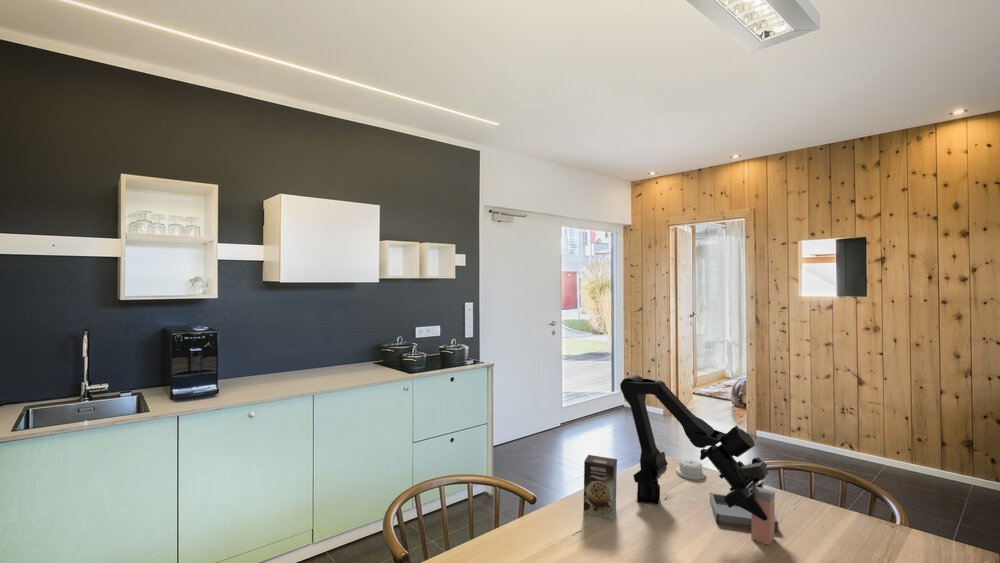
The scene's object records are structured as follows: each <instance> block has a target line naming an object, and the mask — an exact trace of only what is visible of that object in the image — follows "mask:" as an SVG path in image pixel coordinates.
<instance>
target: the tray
mask: <svg viewBox="0 0 1000 563" xmlns="http://www.w3.org/2000/svg"><path fill="white" fill-rule="evenodd" d="M726 495H727V494H723V493H722V494H721V493H715V492H714V493H712V492H709V504H710V508H711V511H712V513H713V518H714V520H715V523H716V524H717V525H722V526H723V525H724V526H733V527H739V528H747V529H751V528H752V513H750V512H748V511H747V510H745V509H743V508H741V507H739V506H736V505H734V506H732V507H731V508H729V507H728V506H727V504H726V503H725V502H724V497H725V496H726ZM774 533H779V521H778V519H777V517H776V515H775V514H774Z"/></svg>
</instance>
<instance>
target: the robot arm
mask: <svg viewBox="0 0 1000 563" xmlns="http://www.w3.org/2000/svg"><path fill="white" fill-rule="evenodd" d="M619 385H620V387H619V388H620V390H621V393H622V395H623V398H624V399H625V401H626V402H627V404H628V405H629V406H630V409H631V414H632V418H633V421H634V426H635V429H636V434H637V439H638V443H639V447H640V458H639V465H640V470H638V471H637V472H636V473H634V474H633V479H634V483H637V492H636V502H637V503H644V504H652V505H659V501H660V500H661V486H660V484H659V479H660V478H661V476H662V475H664V474H665V473H666V471H667V470H668V469H667V468H668V467H667V466H668V465H669V463H668V461H667V459H666V453H665V452H664V451H660V450H659V449H658V447H657V445H656V441H655V437H654V434H653V433H654V432H653V430H652V425H651V422H650V417H649V414H648V410H647V405H646V398H647V395H652V396H653V395H654V396H655V398H656V399H657V400H658V401H659V402H660V403H661V404H662V406H664V408H665V409H666V410H668V412H669V413H670V414H671V415H672V416H673V417H674V418H675V419H676V420H677V421H678V423H679V424H680V425H681V426H682V429H683V431H684V434H685V435H686V437H687V439H688V440H689V441H690V443H691V444H692V445H693V446H694V447H695V448H697V449H698V448H699V449H700V450H699V451H700V455H699V456H700V457H699V460H700V461H703V460H705V459H706V458H707V459H708V460H709V461H710V462H711V464H712V465H713V466H714V467H715V469H716V470H717V471H718V472H719V475H718V477H719V478H720V480H722V479H724V480H725V481H726V482H727V484H728V485H729V486H730V488H729V492H728V493H727V494H725V495H726V496H725V497H724V502H725V503H726V504H727V506H728V507H729V508H731V507H732V506H734V505H736V506H739V507H741V508H743V509H745V510H747V511H748V512H750V513H752V514H754V515H755V516H757V517H759V518H760V519H762V520H764V521H765V520H767V519H768V518H767V517H766V515H765V513H764V512H763V510H762V509H761V507H760V506H759V504H758V503H757V501H756V500H755V491H754V492H753V493H752V491H753V490H754V489H755V488H756V487H760V488H764V485H765V482H764V481H763V480H765V478H766V477H767V475H769V471H768V469H767V466H768V465H767V463H765V461H763V460H762V459H761V458H760V457H754V458H753V459H752V460H751V462H749V463H748V464H744V463H743V462H742V461H741V460H739V461H738V460H736V459H735V457H736V458H739V457H740V456H742V455H743V454H745V453H747V452H748V451H749V450H751V449H752V448H754V447H755V446H756V445H755V441H754V439H753V437H752V436H751V435H750V434H749V432H746V431H745V430H744V429H741V428H740V427H739V426H738V425H735V426H733V427H732V428H731V429H730V430H729V431H728V432H722V431H720V430H717V429H714V427H712V426H711V425H710V424H709V423H707V422H706V421H705V420H704V419H702V418H699V417H698V416H696V415H695V414H694V413H692V412H691V411H690V409H689V408H688V407H686V406H685V404H684V403H683V402H682V401H681V400H680V399H679V398H678V397H677V396H676V395H675V394H674V393H673V392H672V390H671V389H670V388H669V387H668V386H667V384H666V383H665V382H664V381H663V380H656V379H652V378H643V377H642V376H641V375H635V374H634V375H632V376H628V377H627V378H623V379H622V380H621V383H620V384H619ZM718 443H720V445H717V444H718ZM706 447H708V448H706ZM760 481H762V482H760ZM759 482H760V483H759Z"/></svg>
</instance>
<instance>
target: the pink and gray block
mask: <svg viewBox="0 0 1000 563" xmlns="http://www.w3.org/2000/svg"><path fill="white" fill-rule="evenodd" d="M754 491H755V500H756V501H757V503H758V504H759V506H760V507H761V509H762V510H763V512H764V513H765V515H766V517H767V518H768V519H767V520H765V521H764V520H762V519H760V518H759V517H757V516H755V515H754V514H752V528H750V529H751V531H750V532H751V538H750V539H751V540H754V541H756V542H759V543H762V544H765V545H768V546H771V544H772V543H773V541H774V539H775V532H774V515H775V508H776V507H775V506H776V505H775V504H776V503H775V500H776V497H775V494H776V491H775V490H770V489H767V488H764V487H763V488H760V487H756V488H755V489H754V490H753V491H752V493H753V492H754Z"/></svg>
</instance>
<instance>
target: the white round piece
mask: <svg viewBox="0 0 1000 563" xmlns="http://www.w3.org/2000/svg"><path fill="white" fill-rule="evenodd" d="M675 473H676V475H677V476H679V477H681V478H684V479H687V480H688V479H689V480H695V481H696V480H697V481H698V480H703V479H705V478H706V475H707V474H706V471H705V470H704V469H703V464H702V463H701V462H700V461H697V460H694V459H689V458H684V459H681V460H680V461H679V466H677V467H676V468H675Z"/></svg>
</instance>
